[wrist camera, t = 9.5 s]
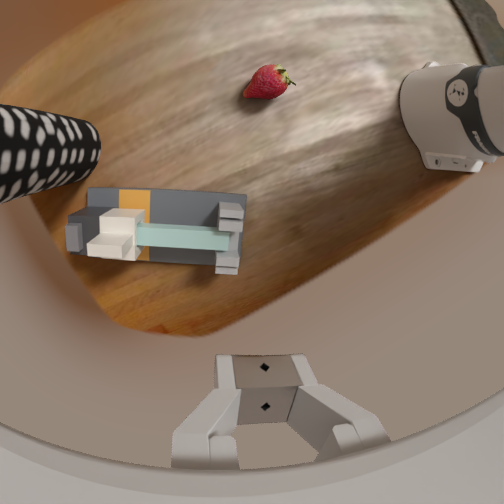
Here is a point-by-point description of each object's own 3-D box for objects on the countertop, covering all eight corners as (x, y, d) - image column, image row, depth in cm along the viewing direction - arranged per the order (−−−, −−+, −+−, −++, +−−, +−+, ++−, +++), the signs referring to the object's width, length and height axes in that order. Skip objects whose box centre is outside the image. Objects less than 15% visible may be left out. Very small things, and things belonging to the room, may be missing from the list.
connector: (115, 207, 31) (95, 219, 25) (115, 241, 33) (97, 260, 26) (87, 206, 31) (63, 218, 24) (88, 240, 32) (66, 257, 26)
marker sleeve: (144, 209, 31) (123, 227, 23) (144, 247, 32) (124, 276, 24) (113, 208, 30) (83, 225, 22) (114, 245, 32) (87, 272, 24)
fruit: (233, 81, 29) (237, 69, 25) (277, 65, 29) (287, 52, 25) (248, 110, 31) (254, 102, 26) (292, 93, 31) (304, 84, 26)
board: (245, 194, 34) (246, 195, 33) (238, 263, 37) (239, 266, 36) (90, 187, 31) (87, 188, 30) (92, 254, 34) (89, 257, 33)
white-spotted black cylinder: (57, 116, 27) (-50, 103, 8) (108, 123, 29) (8, 99, 10) (44, 177, 29) (-63, 206, 10) (93, 187, 31) (-10, 226, 12)
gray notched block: (239, 203, 33) (244, 212, 28) (233, 258, 36) (237, 276, 30) (219, 201, 33) (220, 210, 28) (214, 257, 35) (215, 275, 30)
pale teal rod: (228, 228, 32) (229, 232, 30) (226, 245, 32) (227, 250, 30) (93, 220, 29) (87, 224, 27) (94, 237, 30) (87, 242, 28)
